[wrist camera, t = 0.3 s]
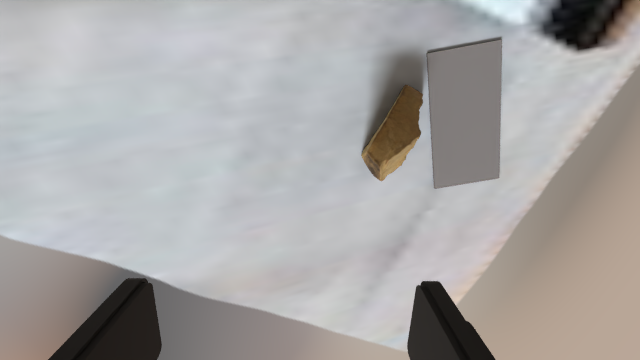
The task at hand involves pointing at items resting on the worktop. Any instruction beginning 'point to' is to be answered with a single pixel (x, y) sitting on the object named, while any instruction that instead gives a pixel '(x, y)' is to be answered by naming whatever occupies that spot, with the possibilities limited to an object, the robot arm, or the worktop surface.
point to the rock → (395, 135)
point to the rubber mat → (465, 113)
